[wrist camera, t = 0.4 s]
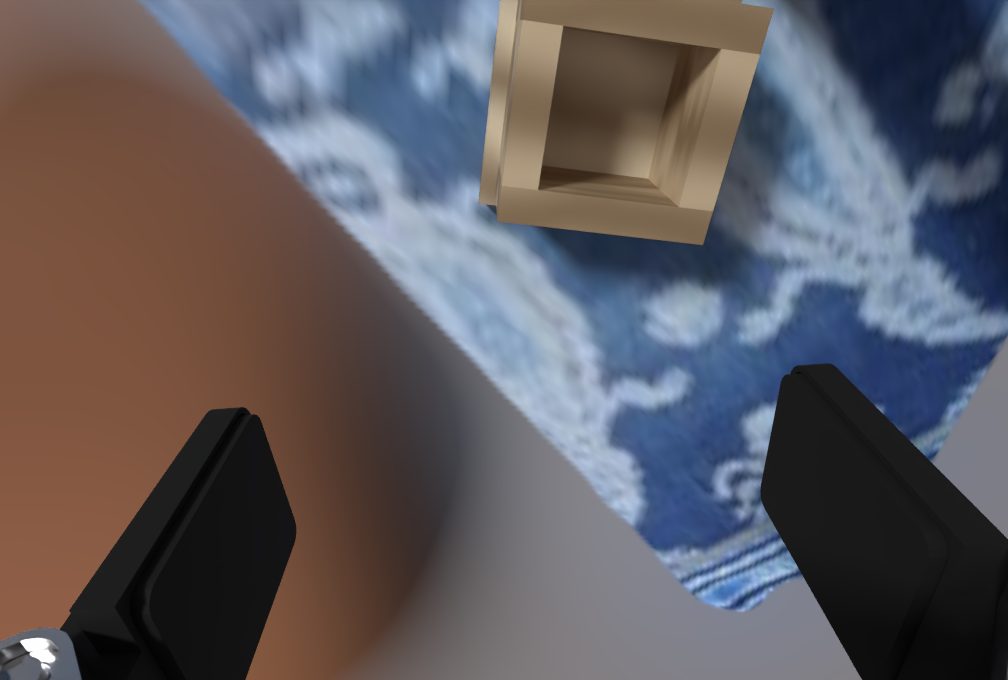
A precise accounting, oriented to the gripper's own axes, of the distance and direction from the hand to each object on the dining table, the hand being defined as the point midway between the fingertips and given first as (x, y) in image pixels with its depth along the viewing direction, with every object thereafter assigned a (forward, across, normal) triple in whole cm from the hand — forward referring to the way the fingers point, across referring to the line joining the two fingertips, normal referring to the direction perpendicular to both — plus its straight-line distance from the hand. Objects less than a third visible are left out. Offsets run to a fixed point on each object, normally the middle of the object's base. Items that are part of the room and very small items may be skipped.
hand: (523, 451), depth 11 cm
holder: (+32, -7, -1) cm, 33 cm away
